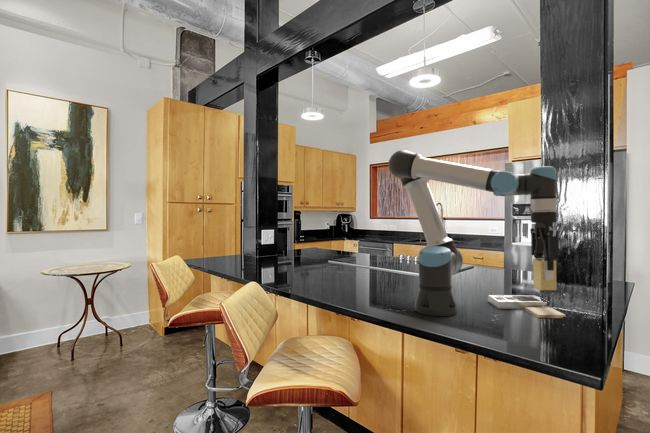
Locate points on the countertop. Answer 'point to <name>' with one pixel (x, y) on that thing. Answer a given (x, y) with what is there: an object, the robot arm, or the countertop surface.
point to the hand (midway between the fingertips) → (544, 277)
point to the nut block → (542, 276)
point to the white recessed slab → (515, 301)
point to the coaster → (544, 312)
